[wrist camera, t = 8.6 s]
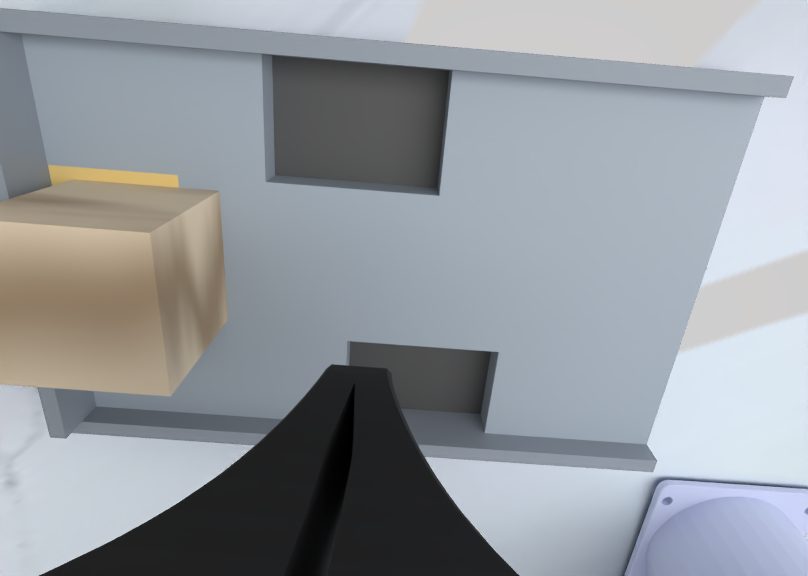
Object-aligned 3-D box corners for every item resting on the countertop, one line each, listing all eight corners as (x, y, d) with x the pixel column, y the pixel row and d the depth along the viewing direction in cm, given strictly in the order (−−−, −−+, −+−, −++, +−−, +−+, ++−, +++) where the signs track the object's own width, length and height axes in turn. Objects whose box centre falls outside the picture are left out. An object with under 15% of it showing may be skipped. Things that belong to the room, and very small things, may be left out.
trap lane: (628, 432, 23) (664, 490, 20) (104, 396, 22) (53, 449, 19) (741, 76, 17) (819, 76, 14) (30, 15, 16) (-61, 0, 13)
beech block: (228, 319, 19) (171, 396, 15) (97, 309, 19) (-2, 384, 14) (219, 190, 17) (149, 232, 13) (73, 179, 17) (-51, 217, 13)
